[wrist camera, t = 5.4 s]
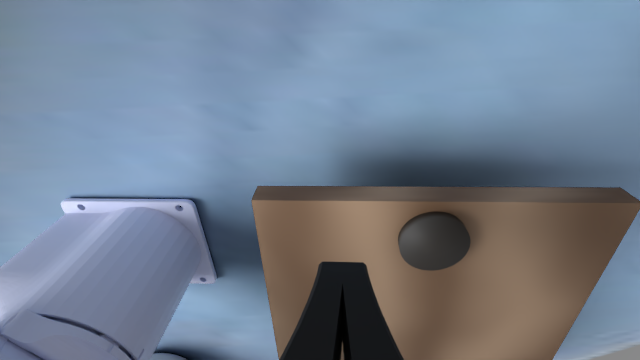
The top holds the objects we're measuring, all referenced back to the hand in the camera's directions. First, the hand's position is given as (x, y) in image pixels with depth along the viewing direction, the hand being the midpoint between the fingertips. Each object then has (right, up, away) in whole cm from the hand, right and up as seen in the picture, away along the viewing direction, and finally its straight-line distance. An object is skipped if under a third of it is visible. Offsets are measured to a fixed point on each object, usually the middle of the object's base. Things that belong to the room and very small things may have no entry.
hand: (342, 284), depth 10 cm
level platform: (+5, -6, +10) cm, 12 cm away
